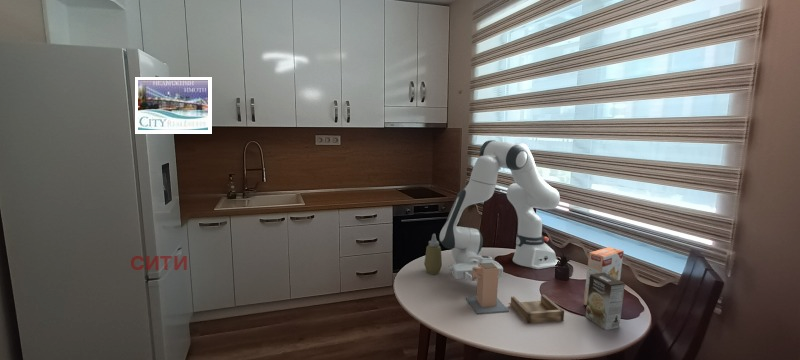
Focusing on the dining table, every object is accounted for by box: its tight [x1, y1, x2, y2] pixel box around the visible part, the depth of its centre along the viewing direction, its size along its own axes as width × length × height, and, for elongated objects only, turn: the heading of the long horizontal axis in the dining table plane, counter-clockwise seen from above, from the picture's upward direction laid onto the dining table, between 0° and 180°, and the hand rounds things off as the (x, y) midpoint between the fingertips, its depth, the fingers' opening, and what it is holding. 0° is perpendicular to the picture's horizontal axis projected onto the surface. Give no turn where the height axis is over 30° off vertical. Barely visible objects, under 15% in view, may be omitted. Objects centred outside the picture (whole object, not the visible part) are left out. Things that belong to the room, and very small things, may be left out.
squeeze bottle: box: [424, 233, 443, 275], centre depth 165 cm, size 8×8×18 cm
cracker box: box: [583, 246, 624, 306], centre depth 137 cm, size 14×6×21 cm, turn 122°
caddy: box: [508, 294, 565, 324], centre depth 132 cm, size 13×14×4 cm
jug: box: [472, 263, 499, 307], centre depth 135 cm, size 9×6×15 cm, turn 100°
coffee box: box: [585, 272, 626, 331], centre depth 124 cm, size 9×6×16 cm
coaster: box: [465, 295, 510, 315], centre depth 136 cm, size 12×12×1 cm
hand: (484, 278), depth 138 cm, fingers open, 8 cm apart
